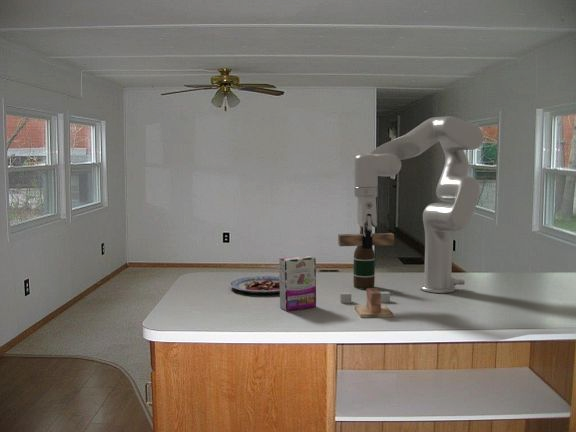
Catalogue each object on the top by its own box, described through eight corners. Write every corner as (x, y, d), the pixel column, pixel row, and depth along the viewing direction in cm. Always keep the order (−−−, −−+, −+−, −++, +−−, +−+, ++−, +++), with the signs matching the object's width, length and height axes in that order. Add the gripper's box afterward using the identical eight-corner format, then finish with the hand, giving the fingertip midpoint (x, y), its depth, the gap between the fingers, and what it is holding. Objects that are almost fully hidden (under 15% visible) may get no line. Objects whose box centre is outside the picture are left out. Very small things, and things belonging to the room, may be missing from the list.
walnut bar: (391, 243, 195) (391, 233, 194) (394, 244, 191) (394, 234, 191) (338, 244, 193) (338, 234, 193) (339, 246, 190) (339, 235, 190)
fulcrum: (385, 308, 185) (385, 286, 185) (393, 316, 175) (393, 294, 175) (354, 309, 185) (354, 287, 184) (360, 317, 175) (360, 294, 174)
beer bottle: (373, 285, 220) (374, 222, 217) (374, 289, 212) (375, 224, 209) (353, 284, 220) (353, 222, 218) (353, 289, 213) (354, 224, 210)
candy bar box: (309, 304, 191) (309, 254, 190) (316, 307, 187) (316, 257, 185) (278, 308, 186) (278, 257, 185) (285, 311, 182) (285, 260, 180)
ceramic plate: (313, 290, 211) (313, 282, 211) (252, 300, 197) (252, 292, 197) (274, 279, 233) (274, 271, 232) (217, 287, 218) (217, 279, 218)
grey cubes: (388, 300, 196) (388, 291, 195) (389, 302, 193) (390, 293, 193) (339, 301, 195) (339, 292, 194) (340, 303, 192) (340, 294, 192)
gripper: (382, 193, 182) (382, 251, 184) (372, 190, 199) (372, 243, 201) (359, 194, 182) (359, 252, 184) (350, 191, 198) (350, 244, 200)
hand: (366, 247), depth 192 cm, fingers closed on walnut bar, 3 cm apart
